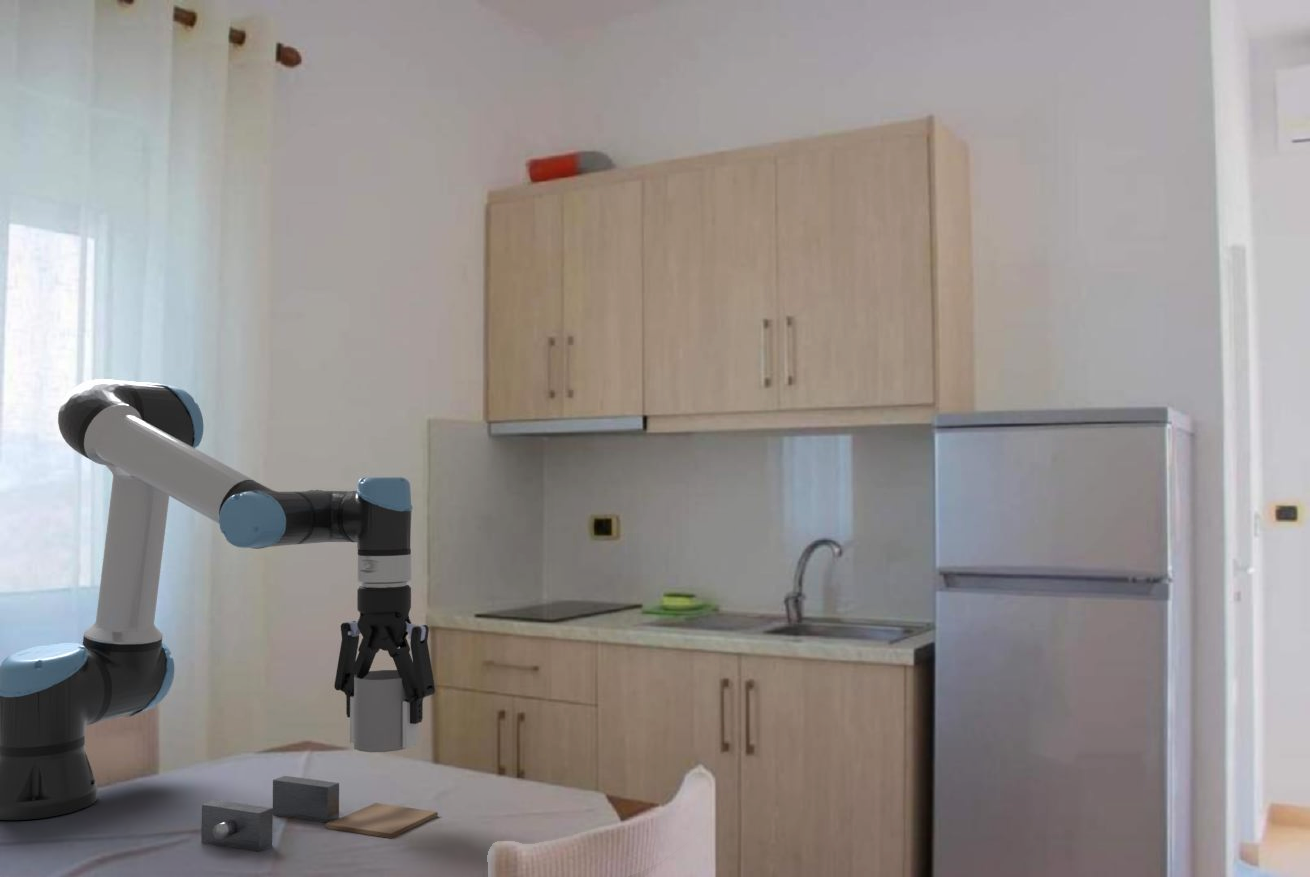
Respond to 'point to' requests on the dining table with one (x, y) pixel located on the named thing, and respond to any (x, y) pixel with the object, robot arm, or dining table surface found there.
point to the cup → (378, 711)
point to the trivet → (382, 820)
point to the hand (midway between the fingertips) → (383, 743)
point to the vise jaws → (268, 813)
